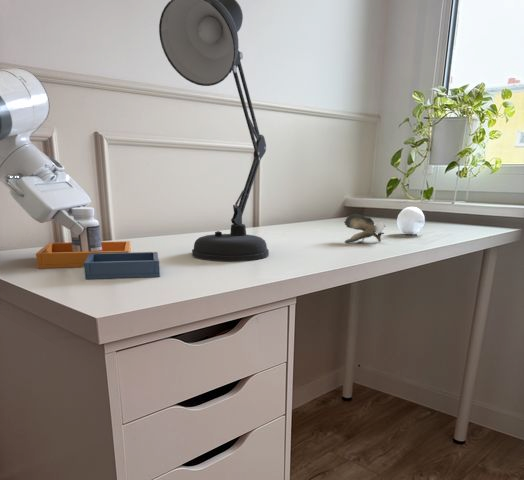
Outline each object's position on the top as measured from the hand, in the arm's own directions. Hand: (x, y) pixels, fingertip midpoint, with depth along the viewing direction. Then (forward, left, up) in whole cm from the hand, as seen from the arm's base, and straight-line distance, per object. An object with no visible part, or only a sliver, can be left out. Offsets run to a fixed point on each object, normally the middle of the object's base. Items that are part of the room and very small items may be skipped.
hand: (88, 230), depth 96 cm
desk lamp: (+26, +2, -6) cm, 27 cm away
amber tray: (-1, 0, -6) cm, 6 cm away
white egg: (+82, +30, -6) cm, 88 cm away
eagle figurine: (+62, +17, -6) cm, 65 cm away
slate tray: (+6, -13, -6) cm, 15 cm away
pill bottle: (-1, 0, -5) cm, 5 cm away
